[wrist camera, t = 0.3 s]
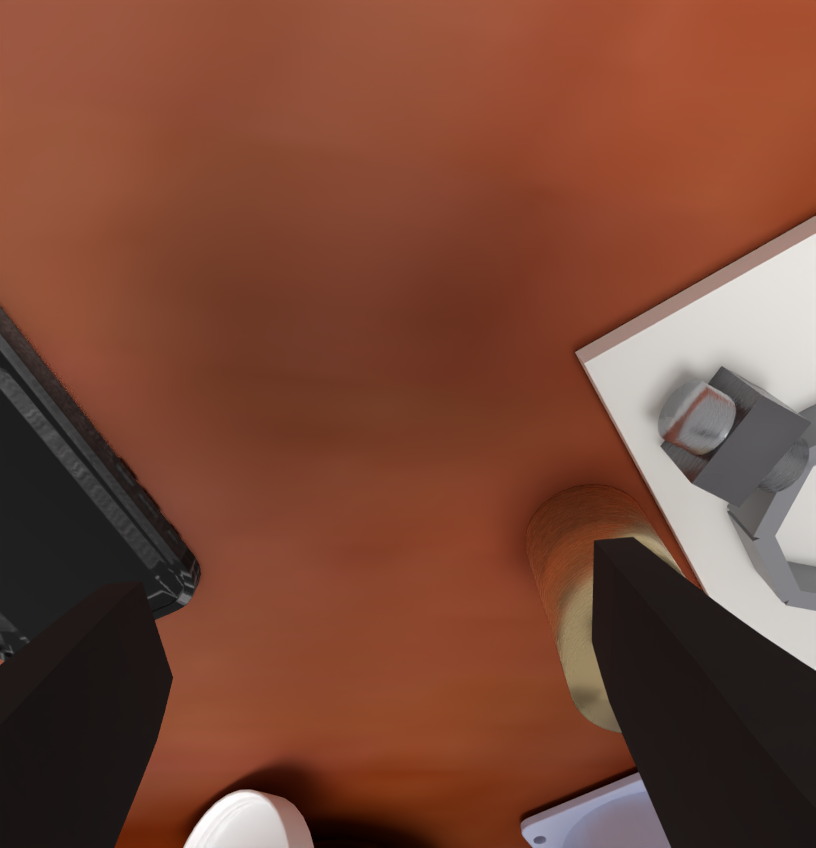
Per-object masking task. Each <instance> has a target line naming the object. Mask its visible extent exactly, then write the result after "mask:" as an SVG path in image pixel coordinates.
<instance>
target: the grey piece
mask: <svg viewBox="0 0 816 848" xmlns="http://www.w3.org/2000/svg"><path fill="white" fill-rule="evenodd" d="M810 424H811V422H810V421H808V420H807V419H805V418H804V417H803V416H801V415H800V414H798V413H797V412H796V411H794V410H793V409H791V408H790V407H788V406H787V405H786V404H784V403H783V402H781V401H780V400H778V399H777V398H776V397H774V396H773V395H771V394H770V393H768V392H767V391H766V390H764V389H762V388H760V387H758V386H757V385H755V384H753V383H751V382H750V381H748V380H746V379H744V378H742V377H741V376H739V375H737V374H735V373H734V372H732V371H730V370H728V369H727V368H725V367H723V366H721V367H720V369H719V370H718V371H717V373H716V374H715V375H714V377H713V378H712V379H711V380H710V382H709V383H708V384H707V383H705V382H703V381H701V380H690V381H688V382H686V383H684V384H682V385H681V386H680V387H678V388H677V389H676V390H675V391H674V392H673V393H672V394H671V395H670V397H669V398H668V400H667V401H666V403H665V404H664V406H663V408H662V410H661V413H660V416H659V420H658V432H659V435H660V436H661V438H662V439H664V440H665V441H664V442H663V443H662V445H661V446H660V447H661V448H662V449H663V450H664V451H665V453H666V454H667V455H668V456H669V457H670V459H671V460H672V461H673V462H674V463H675V465H676V466H677V467H678V468H679V469H680V471H681V472H682V473H683V474H684V475H685V476H686V478H687V479H688V480H689V481H690V482H691V484H693V485H695V486H697V487H699V488H701V489H703V490H705V491H707V492H709V493H711V494H713V495H715V496H717V497H719V498H721V499H723V500H725V501H727V502H729V503H731V504H732V505H734V506H736V507H738V508H739V507H740V506H741V505H742V504H743V503H744V501H745V500H746V499H747V498H748V497H749V496H750V494H751V493H752V492H753V491H754V490H755V489H756V488H758V489H760V490H762V491H764V492H767V493H776V492H780V491H782V490H785V489H786V488H788V487H790V486H791V485H792V484H794V483H795V482H796V481H797V480H798V479H799V477H800V476H801V475H802V473H803V472H804V470H805V468H806V466H807V463H808V460H809V446H808V443H807V441H806V440H805V439H804V438H803V437H802V436H801V435H802V434H803V432H804V431H805V430H806V429H807V428H808V427H809V425H810Z"/></svg>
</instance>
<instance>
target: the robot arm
mask: <svg viewBox="0 0 816 848" xmlns="http://www.w3.org/2000/svg"><path fill="white" fill-rule="evenodd" d="M592 645H593V649H594V652H595V656H596V659H597V663H598V666H599V670H600V673H601V677H602V680H603V683H604V687H605V690H606V693H607V697H608V700H609V703H610V705H611V708H612V710H613V713H614V715H615V718H616V720H617V722H618V725H619V727H620V729H621V732H622V734H623V736H624V739H625V741H626V744H627V746H628V748H629V751H630V753H631V755H632V758H633V760H634V762H635V765H636V767H637V769H638V772H637V773H635V774H633V775H630V776H628V777H625V778H623V779H621V780H618V781H616V782H613V783H611V784H608V785H606V786H604V787H601V788H599V789H596V790H594V791H592V792H589V793H587V794H584V795H582V796H579V797H577V798H575V799H572V800H570V801H567V802H565V803H563V804H560V805H558V806H555V807H553V808H550V809H548V810H546V811H543V812H541V813H538V814H536V815H534V816H531V817H529V818H527V819H525V820H524V821H523V822H522V823H521V832H522V835H523V837H524V838H525V839H526V841H527V842H528V843H529V844H530V845H531V846H532V848H816V670H814V669H813V668H811V667H810V666H808V665H806V664H805V663H803V662H802V661H800V660H799V659H797V658H796V657H794V656H793V655H791V654H790V653H788V652H787V651H785V650H784V649H782V648H781V647H779V646H778V645H776V644H775V643H773V642H772V641H770V640H769V639H767V638H766V637H764V636H763V635H761V634H760V633H759V632H757V631H756V630H754V629H753V628H752V627H750V626H749V625H747V624H746V623H744V622H743V621H742V620H740V619H739V618H737V617H736V616H735V615H733V614H732V613H731V612H729V611H728V610H727V609H725V608H724V607H723V606H721V605H720V604H719V603H717V602H716V601H714V600H713V599H712V598H710V597H709V596H708V595H707V594H705V593H704V592H703V591H701V590H700V589H699V588H697V587H696V586H695V585H694V584H692V583H691V582H690V581H689V580H687V579H686V578H685V577H683V576H682V575H681V574H680V573H678V572H677V571H676V570H675V569H673V568H672V567H671V566H670V565H668V564H667V563H666V562H665V561H663V560H662V559H661V558H660V557H658V556H657V555H656V554H655V553H653V552H652V551H651V550H650V549H648V548H647V547H646V546H644V545H643V544H642V543H641V542H639V541H638V540H637V539H635V538H634V537H625V538H614V539H602V540H594V558H593V602H592ZM172 680H173V676H172V673H171V670H170V667H169V664H168V661H167V658H166V655H165V651H164V648H163V645H162V642H161V639H160V636H159V633H158V630H157V627H156V623H155V620H154V617H153V614H152V611H151V608H150V605H149V602H148V599H147V595H146V592H145V589H144V586H143V583H142V581H134V582H123V583H112V584H104V585H103V586H101V587H100V588H98V589H97V590H95V591H94V592H92V593H91V594H90V595H88V596H87V597H86V598H84V599H83V600H82V601H80V602H79V603H78V604H76V605H75V606H74V607H73V608H71V609H70V610H69V611H67V612H66V613H65V614H64V615H62V616H61V617H60V618H59V619H57V620H56V621H55V622H54V623H52V624H51V625H50V626H49V627H47V628H46V629H45V630H44V631H42V632H41V633H40V634H39V635H37V636H36V637H35V638H34V639H32V640H31V641H30V642H29V643H27V644H26V645H25V646H24V647H22V648H21V649H20V650H19V651H17V652H16V653H15V654H14V655H12V656H11V657H10V658H8V659H7V660H6V661H5V662H3V663H2V664H1V665H0V848H114V847H115V844H116V842H117V839H118V837H119V834H120V832H121V829H122V827H123V825H124V822H125V820H126V817H127V815H128V812H129V810H130V807H131V805H132V802H133V800H134V797H135V795H136V792H137V790H138V787H139V785H140V782H141V780H142V777H143V775H144V772H145V770H146V767H147V765H148V762H149V759H150V757H151V754H152V752H153V749H154V746H155V744H156V741H157V738H158V734H159V731H160V727H161V723H162V720H163V716H164V713H165V709H166V704H167V700H168V696H169V692H170V688H171V684H172Z"/></svg>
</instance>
